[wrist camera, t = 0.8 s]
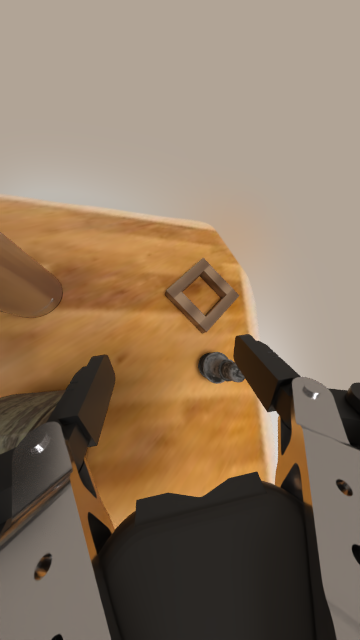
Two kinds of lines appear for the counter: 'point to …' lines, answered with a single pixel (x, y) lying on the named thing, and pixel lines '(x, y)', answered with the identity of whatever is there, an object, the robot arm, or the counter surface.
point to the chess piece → (219, 368)
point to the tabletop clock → (24, 415)
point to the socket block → (214, 282)
